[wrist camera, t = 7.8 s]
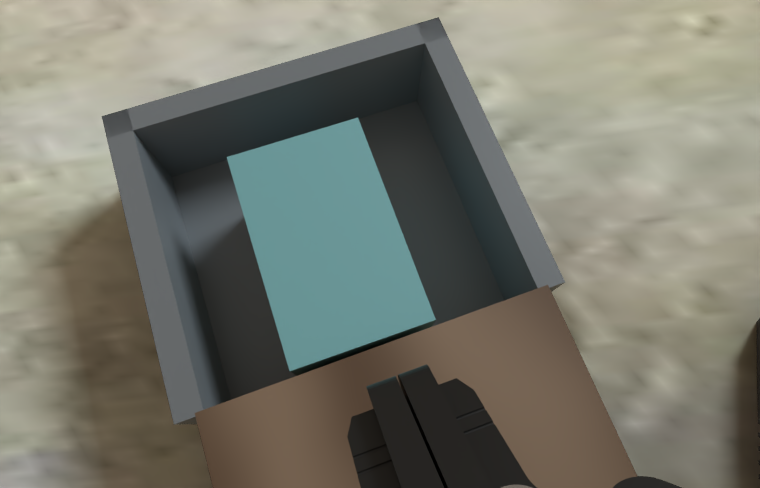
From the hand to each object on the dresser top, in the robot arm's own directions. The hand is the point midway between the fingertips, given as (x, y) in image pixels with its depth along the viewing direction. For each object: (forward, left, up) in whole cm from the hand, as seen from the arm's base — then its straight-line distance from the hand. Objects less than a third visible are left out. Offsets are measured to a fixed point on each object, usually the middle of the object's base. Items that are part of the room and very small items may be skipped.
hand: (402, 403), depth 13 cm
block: (0, -2, -7) cm, 7 cm away
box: (0, -8, -10) cm, 13 cm away
